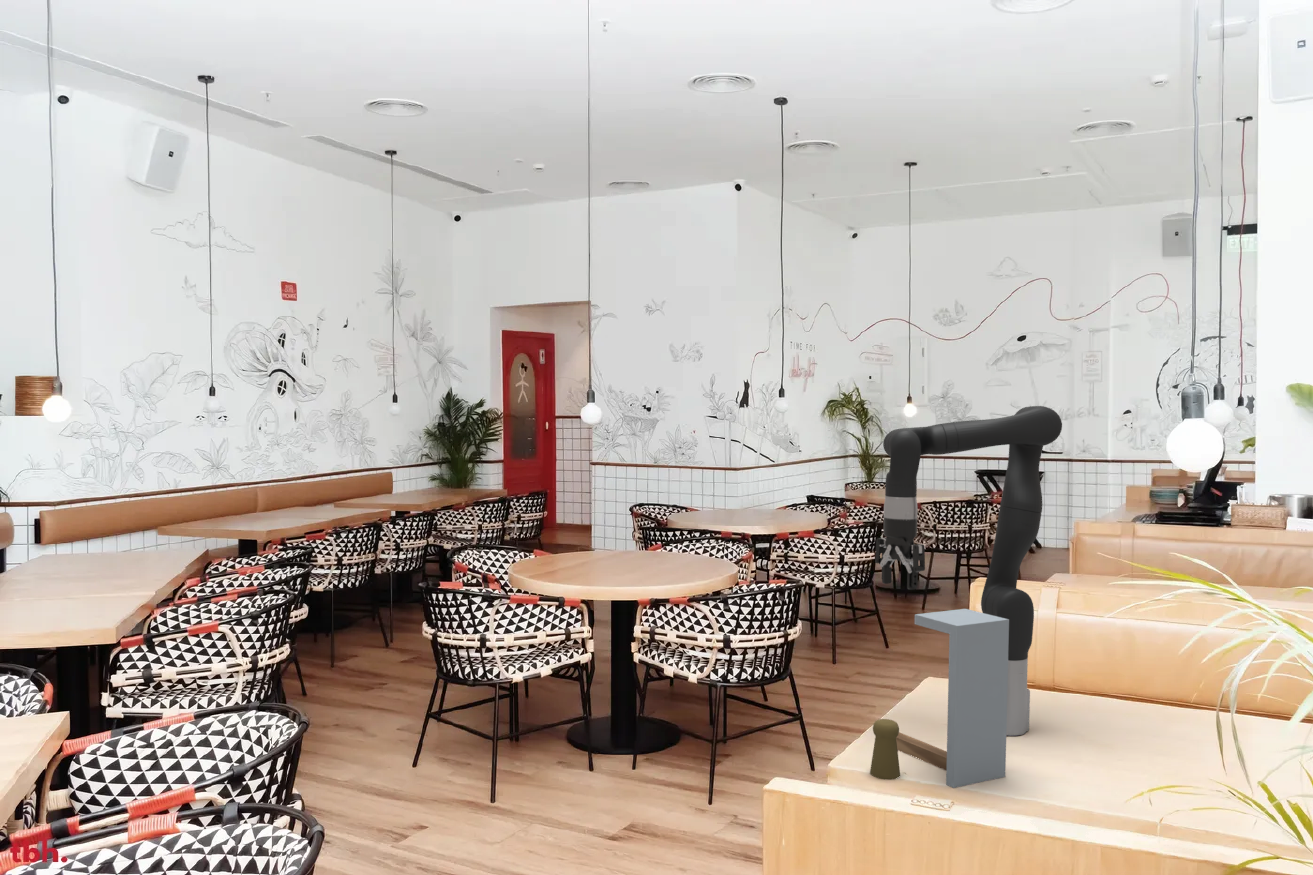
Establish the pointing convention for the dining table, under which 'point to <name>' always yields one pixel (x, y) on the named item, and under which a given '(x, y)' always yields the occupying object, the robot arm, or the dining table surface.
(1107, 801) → the dining table surface
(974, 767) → the shelf stand
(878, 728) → the olive pawn
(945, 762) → the walnut rod
